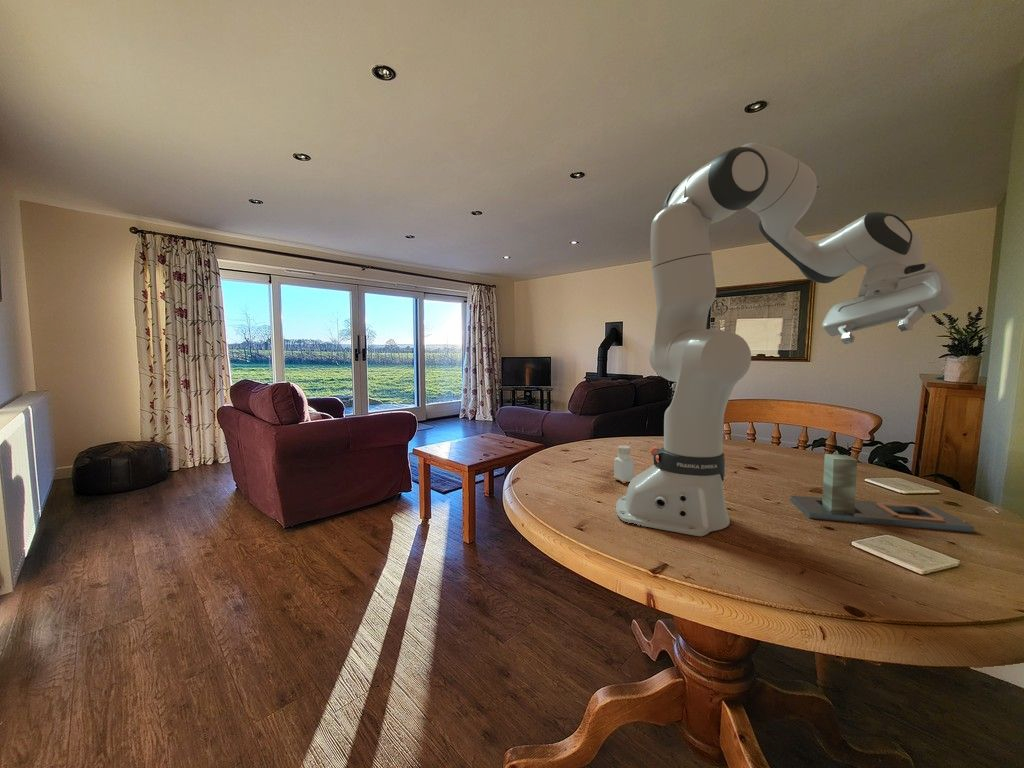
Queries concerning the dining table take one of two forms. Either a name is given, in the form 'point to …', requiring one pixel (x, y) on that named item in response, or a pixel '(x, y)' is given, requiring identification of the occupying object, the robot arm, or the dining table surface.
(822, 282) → the robot arm
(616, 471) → the white pill bottle
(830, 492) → the peg
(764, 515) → the dining table surface
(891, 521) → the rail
